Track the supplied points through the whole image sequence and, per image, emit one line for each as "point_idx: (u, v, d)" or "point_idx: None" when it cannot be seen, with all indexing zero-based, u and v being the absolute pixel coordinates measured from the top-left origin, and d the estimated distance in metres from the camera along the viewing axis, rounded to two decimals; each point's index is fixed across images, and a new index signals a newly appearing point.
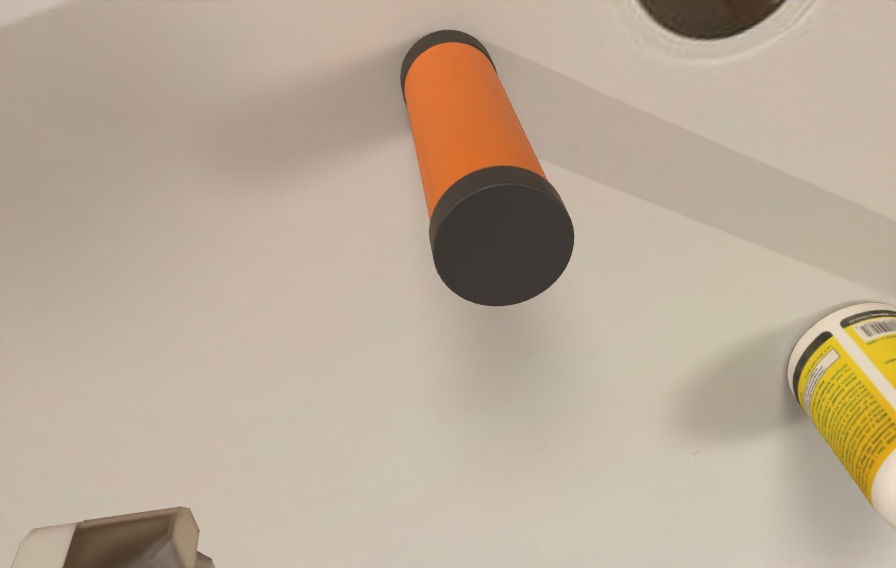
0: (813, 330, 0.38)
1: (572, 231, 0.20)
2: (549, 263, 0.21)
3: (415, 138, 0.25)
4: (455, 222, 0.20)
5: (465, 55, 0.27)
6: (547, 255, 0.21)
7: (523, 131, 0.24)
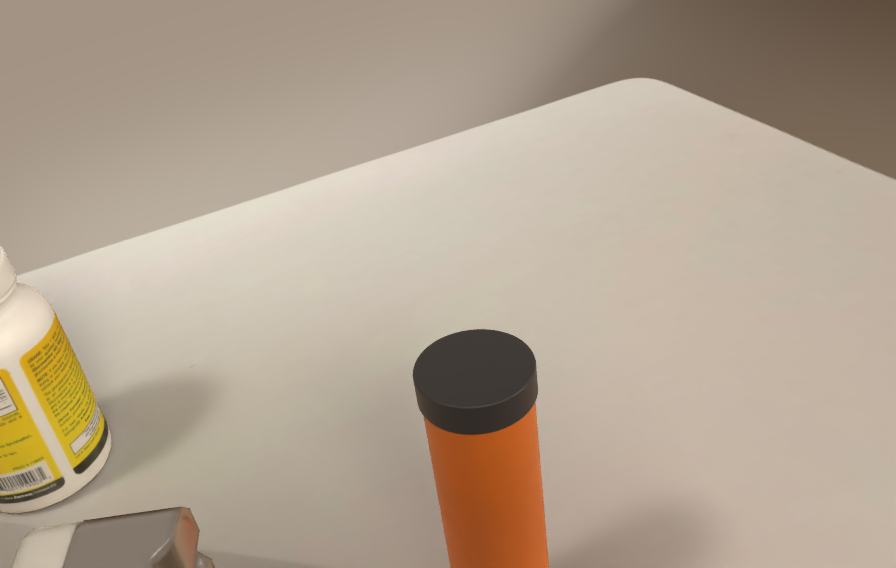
0: (89, 476, 0.38)
1: (417, 386, 0.23)
2: (430, 363, 0.24)
3: None
4: (522, 373, 0.23)
5: None
6: (434, 367, 0.24)
7: (453, 517, 0.25)
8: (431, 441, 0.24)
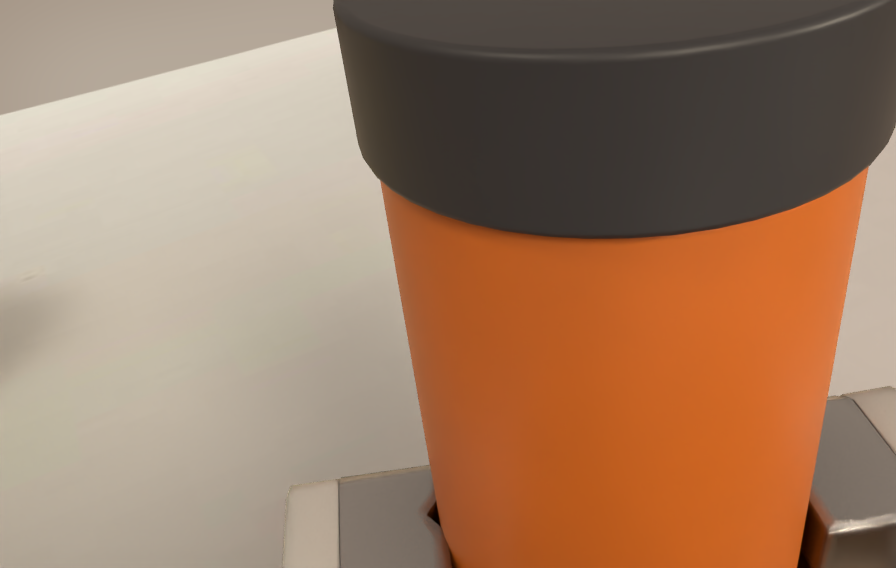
0: None
1: (348, 18, 0.05)
2: None
3: None
4: None
5: None
6: None
7: None
8: (416, 310, 0.06)
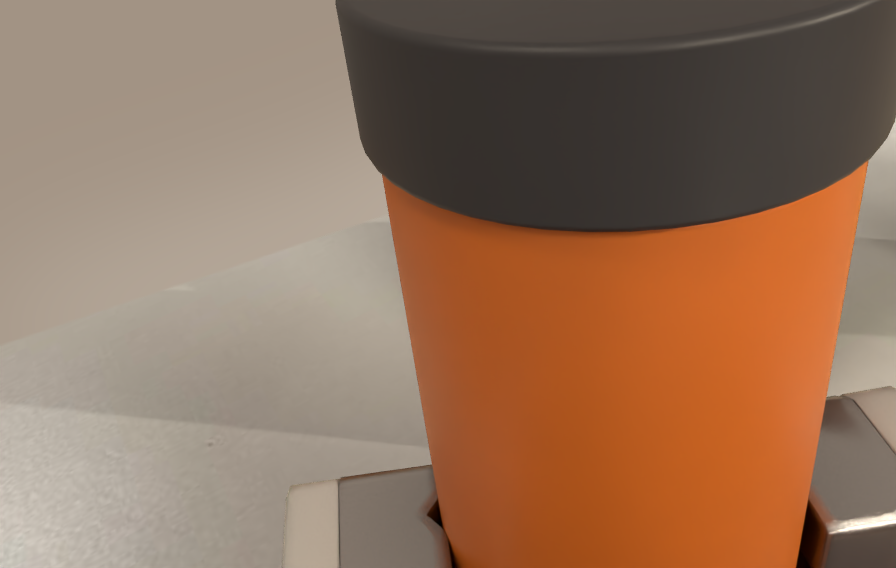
0: None
1: (350, 12, 0.05)
2: None
3: None
4: None
5: None
6: None
7: None
8: (417, 304, 0.06)
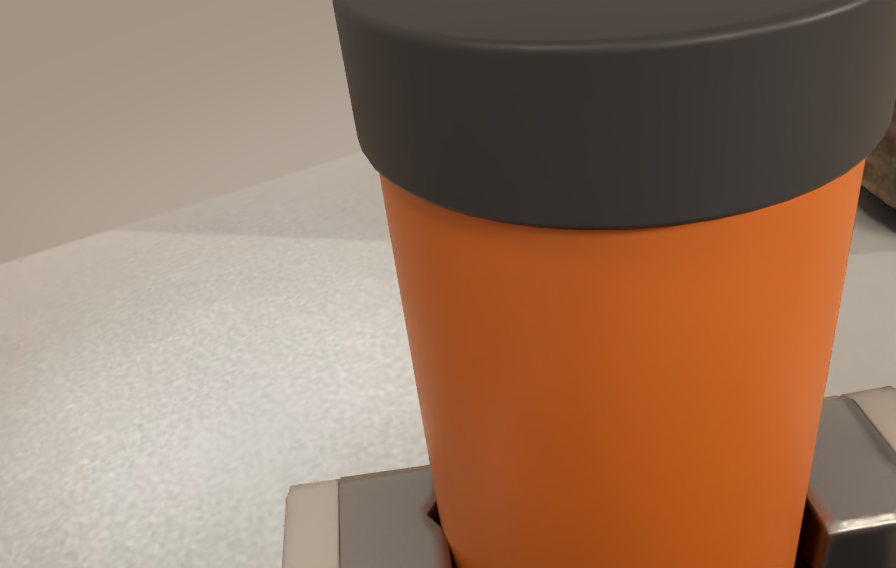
0: None
1: (347, 11, 0.05)
2: None
3: None
4: None
5: None
6: None
7: None
8: (415, 303, 0.06)
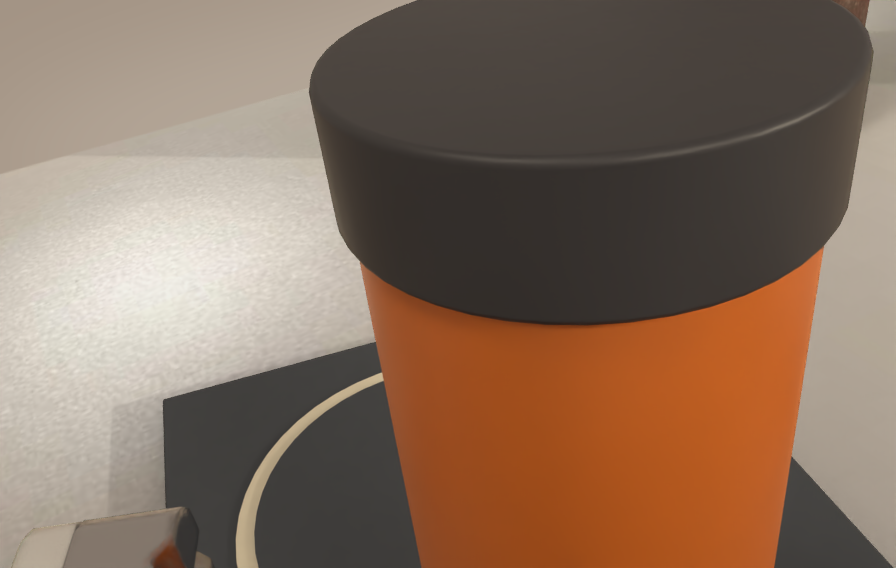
0: None
1: (322, 107, 0.05)
2: (389, 44, 0.06)
3: None
4: (815, 43, 0.05)
5: None
6: (404, 54, 0.06)
7: None
8: (392, 374, 0.06)
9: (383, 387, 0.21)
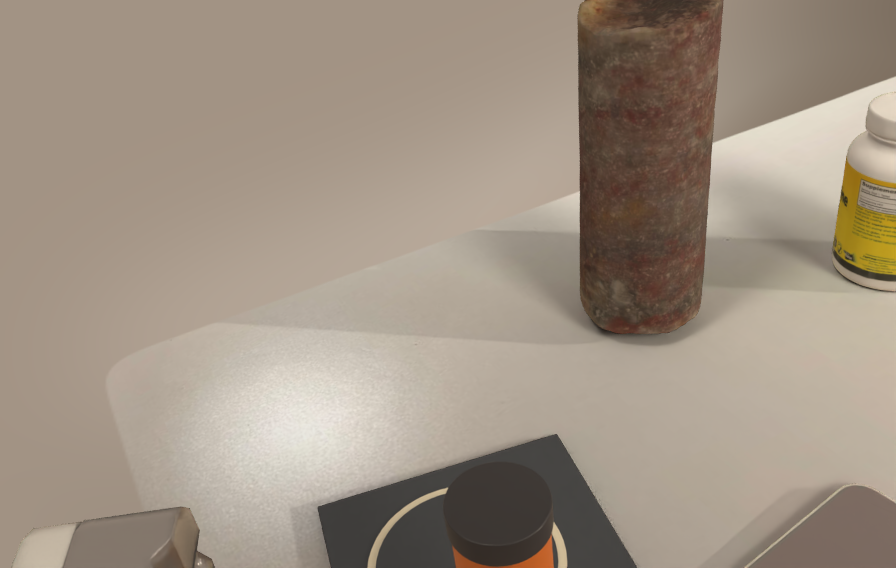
0: None
1: (447, 521, 0.26)
2: (458, 496, 0.27)
3: None
4: (540, 511, 0.26)
5: None
6: (462, 501, 0.27)
7: None
8: (458, 565, 0.27)
9: (430, 502, 0.42)
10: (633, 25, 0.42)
